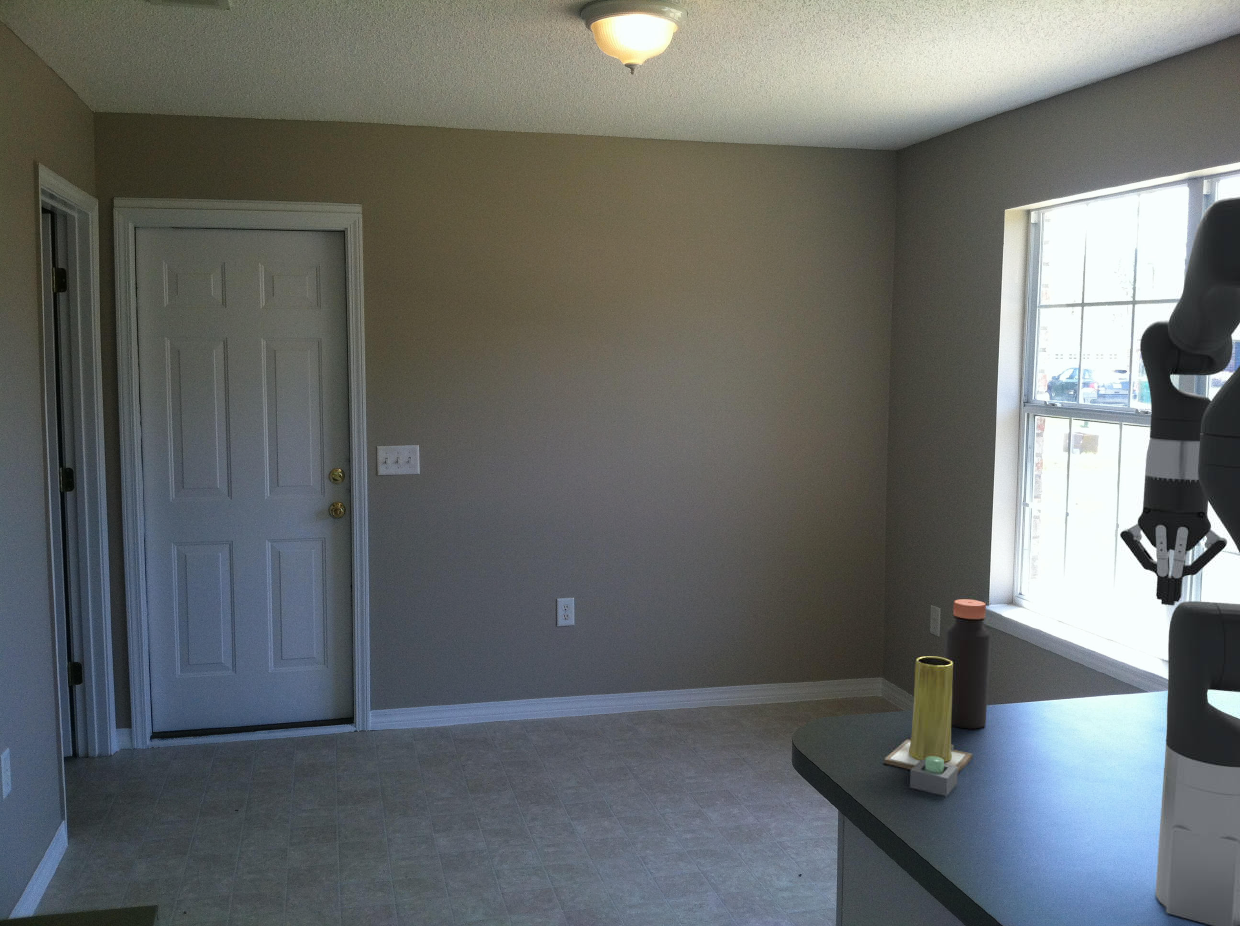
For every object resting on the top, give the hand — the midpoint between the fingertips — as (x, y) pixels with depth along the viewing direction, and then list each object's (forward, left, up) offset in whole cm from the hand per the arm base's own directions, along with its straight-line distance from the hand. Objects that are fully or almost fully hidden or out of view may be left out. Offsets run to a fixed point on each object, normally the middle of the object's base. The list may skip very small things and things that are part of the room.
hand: (1168, 603), depth 138 cm
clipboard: (-4, +30, -27) cm, 40 cm away
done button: (-13, +26, -26) cm, 39 cm away
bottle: (+16, +30, -27) cm, 44 cm away
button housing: (-13, +26, -27) cm, 40 cm away
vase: (-4, +29, -26) cm, 40 cm away
